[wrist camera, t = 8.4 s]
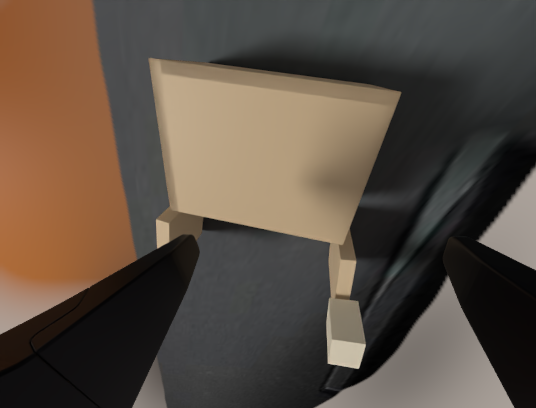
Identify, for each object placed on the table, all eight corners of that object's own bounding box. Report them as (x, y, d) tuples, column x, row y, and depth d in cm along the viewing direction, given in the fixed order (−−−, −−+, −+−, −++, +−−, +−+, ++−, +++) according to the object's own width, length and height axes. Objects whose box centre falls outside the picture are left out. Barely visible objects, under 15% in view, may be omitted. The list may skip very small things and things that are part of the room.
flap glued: (211, 185, 22) (145, 258, 13) (205, 235, 25) (150, 318, 17) (192, 179, 22) (113, 248, 13) (189, 229, 25) (125, 309, 17)
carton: (205, 62, 17) (148, 58, 11) (370, 84, 15) (401, 92, 10) (208, 173, 21) (170, 210, 16) (335, 196, 20) (342, 245, 15)
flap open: (323, 260, 24) (328, 363, 15) (328, 208, 21) (337, 303, 12) (343, 261, 23) (359, 368, 15) (351, 208, 20) (376, 308, 12)
